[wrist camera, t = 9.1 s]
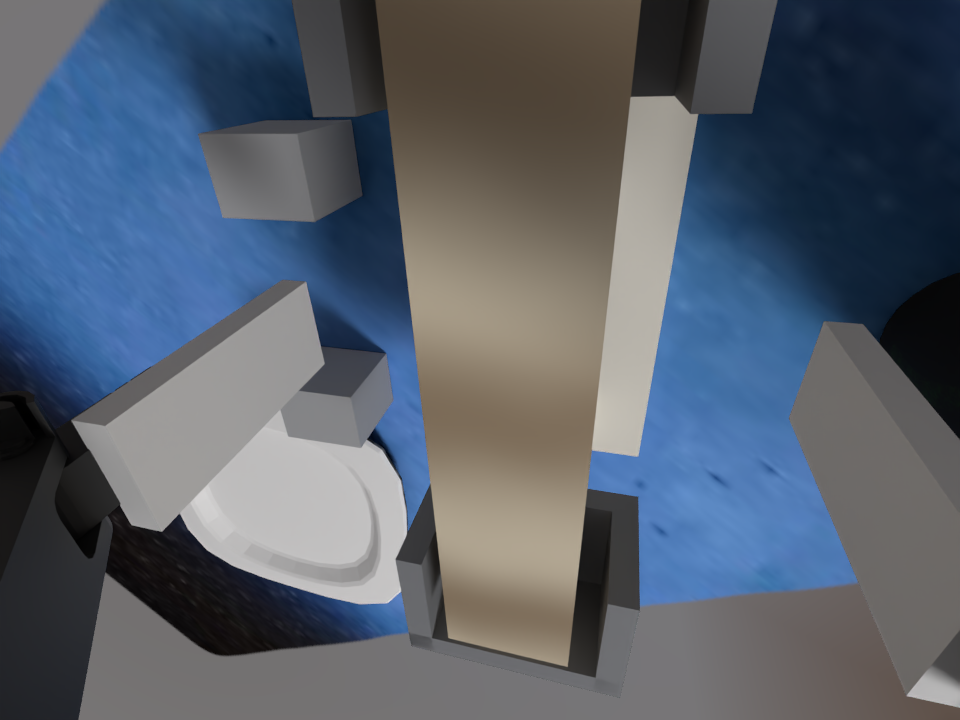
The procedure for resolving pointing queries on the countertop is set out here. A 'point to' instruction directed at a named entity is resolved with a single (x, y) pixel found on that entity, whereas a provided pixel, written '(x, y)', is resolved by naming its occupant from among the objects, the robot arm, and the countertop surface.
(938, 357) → the cup
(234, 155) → the rests
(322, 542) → the plate
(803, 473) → the countertop surface
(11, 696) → the robot arm
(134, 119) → the countertop surface
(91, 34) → the countertop surface
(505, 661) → the bracket stand
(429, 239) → the rail
